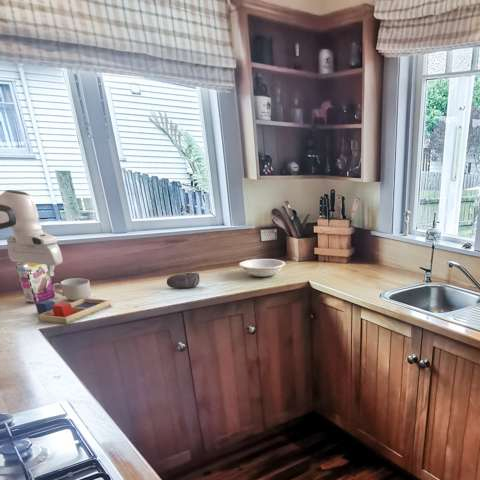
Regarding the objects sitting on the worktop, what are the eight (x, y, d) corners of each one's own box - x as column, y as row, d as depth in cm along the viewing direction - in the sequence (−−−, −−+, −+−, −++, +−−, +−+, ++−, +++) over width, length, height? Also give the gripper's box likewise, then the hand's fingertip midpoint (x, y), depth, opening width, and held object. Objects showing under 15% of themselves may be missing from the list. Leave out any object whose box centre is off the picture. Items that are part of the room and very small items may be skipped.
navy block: (38, 314, 183) (34, 303, 181) (47, 310, 187) (44, 300, 185) (48, 315, 183) (45, 304, 181) (57, 311, 187) (54, 300, 185)
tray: (38, 321, 176) (37, 315, 175) (85, 303, 197) (84, 298, 196) (66, 324, 174) (65, 317, 173) (111, 306, 195) (109, 300, 194)
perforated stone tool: (167, 290, 219) (164, 275, 216) (168, 287, 224) (165, 272, 221) (200, 288, 224) (198, 274, 221) (200, 285, 228) (199, 271, 225)
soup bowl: (270, 268, 265) (270, 257, 263) (294, 276, 250) (293, 264, 247) (232, 274, 251) (230, 262, 248) (254, 283, 235) (253, 270, 232)
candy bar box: (36, 303, 196) (25, 264, 188) (25, 302, 196) (14, 263, 189) (56, 296, 206) (46, 258, 199) (46, 295, 206) (35, 258, 199)
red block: (54, 316, 178) (51, 305, 176) (63, 313, 182) (60, 302, 180) (64, 317, 177) (61, 306, 175) (73, 314, 181) (70, 303, 179)
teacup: (95, 294, 209) (91, 277, 206) (90, 301, 200) (86, 283, 196) (60, 296, 205) (55, 278, 202) (53, 303, 196) (48, 285, 192)
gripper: (-2, 237, 170) (9, 274, 176) (46, 240, 166) (56, 279, 172) (13, 234, 175) (23, 271, 181) (60, 238, 172) (69, 275, 178)
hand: (40, 275), depth 177 cm, fingers open, 8 cm apart
